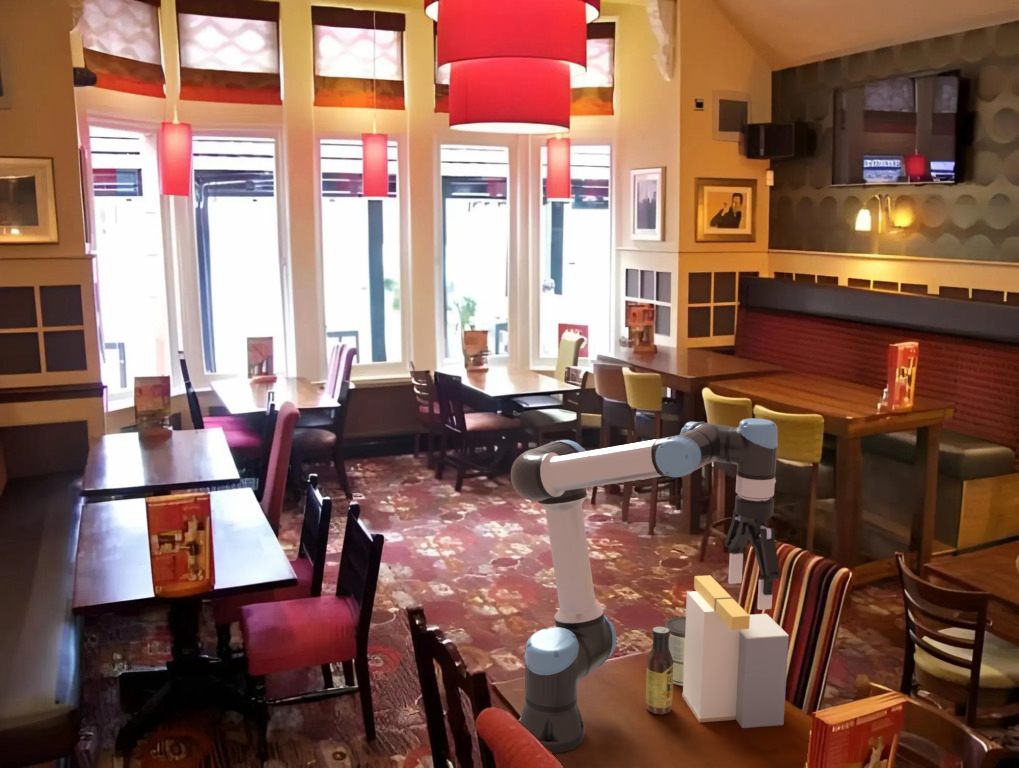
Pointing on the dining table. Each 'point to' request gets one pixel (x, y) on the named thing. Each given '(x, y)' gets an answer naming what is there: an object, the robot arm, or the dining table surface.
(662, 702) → the sauce bottle
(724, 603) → the yellow long bar
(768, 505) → the robot arm
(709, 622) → the cream pillar
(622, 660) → the dining table surface
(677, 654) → the coffee can
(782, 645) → the grey upright block
